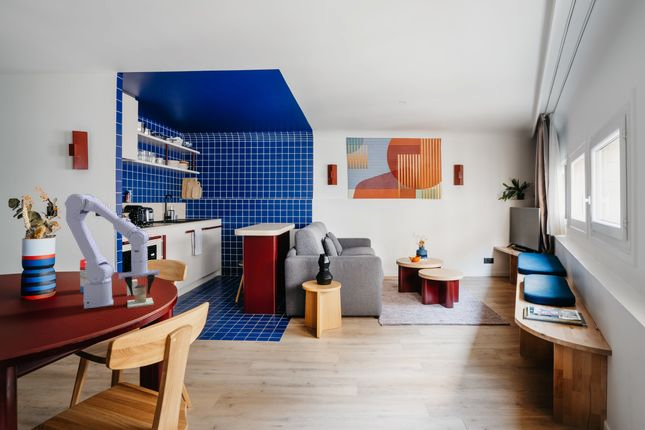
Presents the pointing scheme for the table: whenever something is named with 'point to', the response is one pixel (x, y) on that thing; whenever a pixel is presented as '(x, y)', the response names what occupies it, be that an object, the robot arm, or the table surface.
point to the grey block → (134, 283)
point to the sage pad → (132, 303)
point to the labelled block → (140, 294)
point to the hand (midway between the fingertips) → (140, 294)
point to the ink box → (83, 275)
